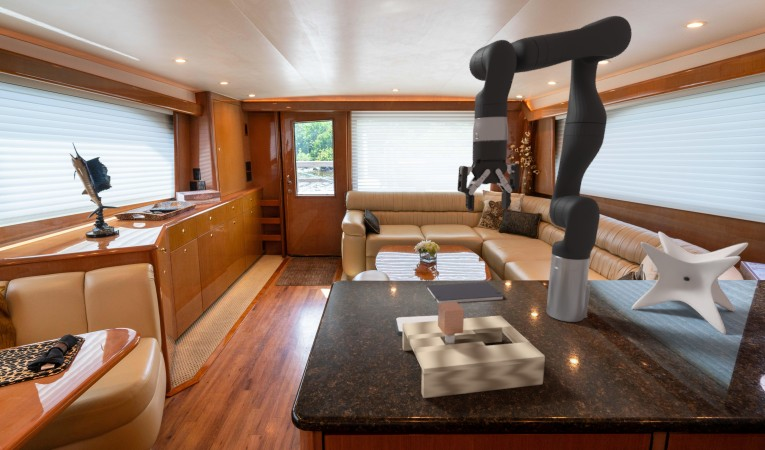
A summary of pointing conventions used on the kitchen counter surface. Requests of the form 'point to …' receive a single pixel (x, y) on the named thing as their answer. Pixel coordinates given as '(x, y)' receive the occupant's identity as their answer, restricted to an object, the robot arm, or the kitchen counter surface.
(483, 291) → the notebook
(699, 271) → the white spiked concave cube
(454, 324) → the footed peg
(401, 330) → the smartphone
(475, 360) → the keyhole plate
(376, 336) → the kitchen counter surface
